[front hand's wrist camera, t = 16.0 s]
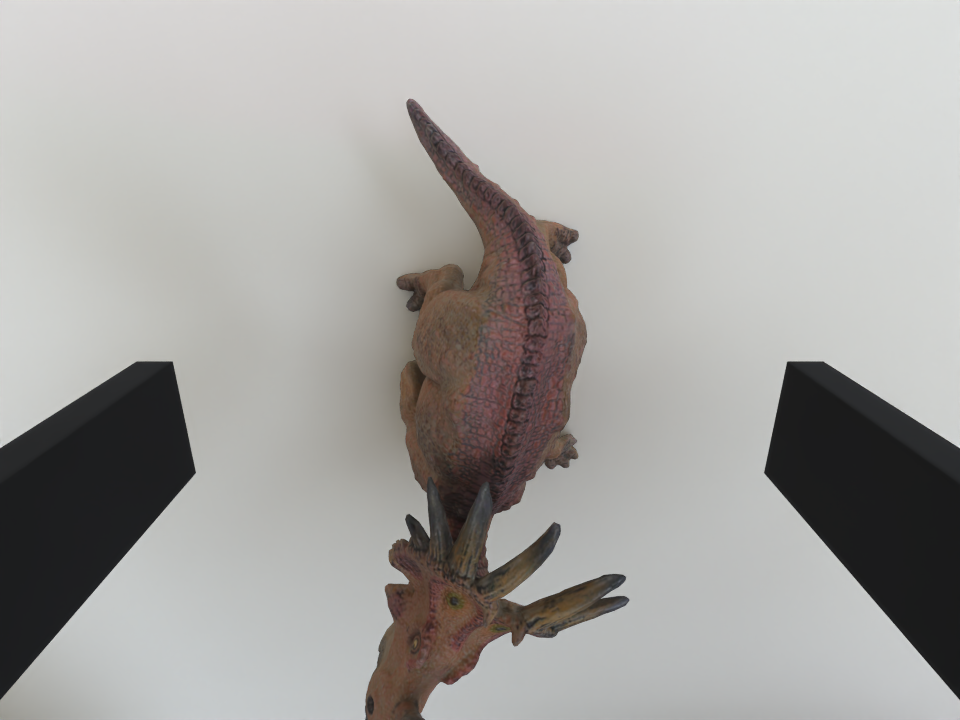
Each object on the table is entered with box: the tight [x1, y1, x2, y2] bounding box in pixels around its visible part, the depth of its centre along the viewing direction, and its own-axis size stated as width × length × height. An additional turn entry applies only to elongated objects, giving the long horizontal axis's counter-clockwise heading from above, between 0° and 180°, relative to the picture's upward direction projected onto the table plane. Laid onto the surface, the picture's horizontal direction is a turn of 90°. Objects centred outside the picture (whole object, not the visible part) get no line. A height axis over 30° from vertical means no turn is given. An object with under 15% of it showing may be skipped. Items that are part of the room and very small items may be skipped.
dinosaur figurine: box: [365, 99, 629, 720], centre depth 13 cm, size 14×6×9 cm, turn 179°
